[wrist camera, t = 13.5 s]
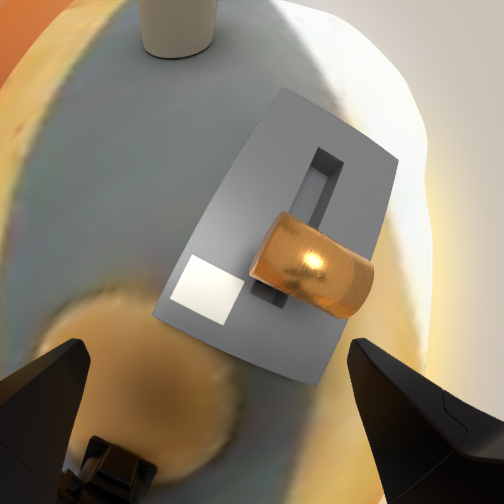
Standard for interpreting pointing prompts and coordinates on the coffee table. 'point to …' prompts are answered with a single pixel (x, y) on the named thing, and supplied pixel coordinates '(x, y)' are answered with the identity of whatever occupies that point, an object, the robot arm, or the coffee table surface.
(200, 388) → the coffee table surface
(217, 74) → the coffee table surface
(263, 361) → the block
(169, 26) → the travel mug
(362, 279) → the lever handle
